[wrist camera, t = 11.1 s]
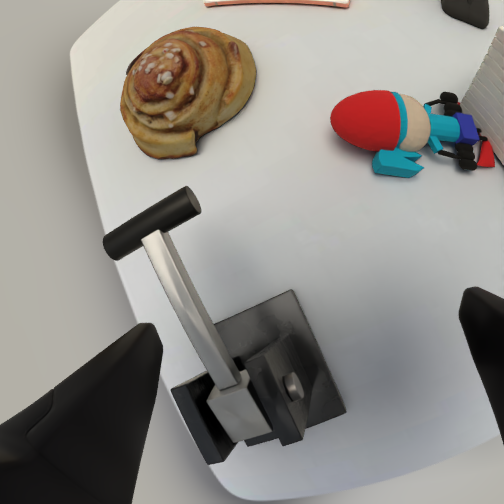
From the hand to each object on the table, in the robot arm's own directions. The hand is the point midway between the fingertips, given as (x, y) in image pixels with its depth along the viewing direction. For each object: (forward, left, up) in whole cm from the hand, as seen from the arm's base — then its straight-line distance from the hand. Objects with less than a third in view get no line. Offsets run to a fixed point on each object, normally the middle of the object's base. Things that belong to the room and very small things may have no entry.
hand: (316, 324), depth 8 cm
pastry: (+22, +8, -15) cm, 28 cm away
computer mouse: (+33, -28, -15) cm, 45 cm away
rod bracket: (-4, +4, -14) cm, 16 cm away
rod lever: (0, +6, -7) cm, 9 cm away
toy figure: (+12, -11, -15) cm, 22 cm away
